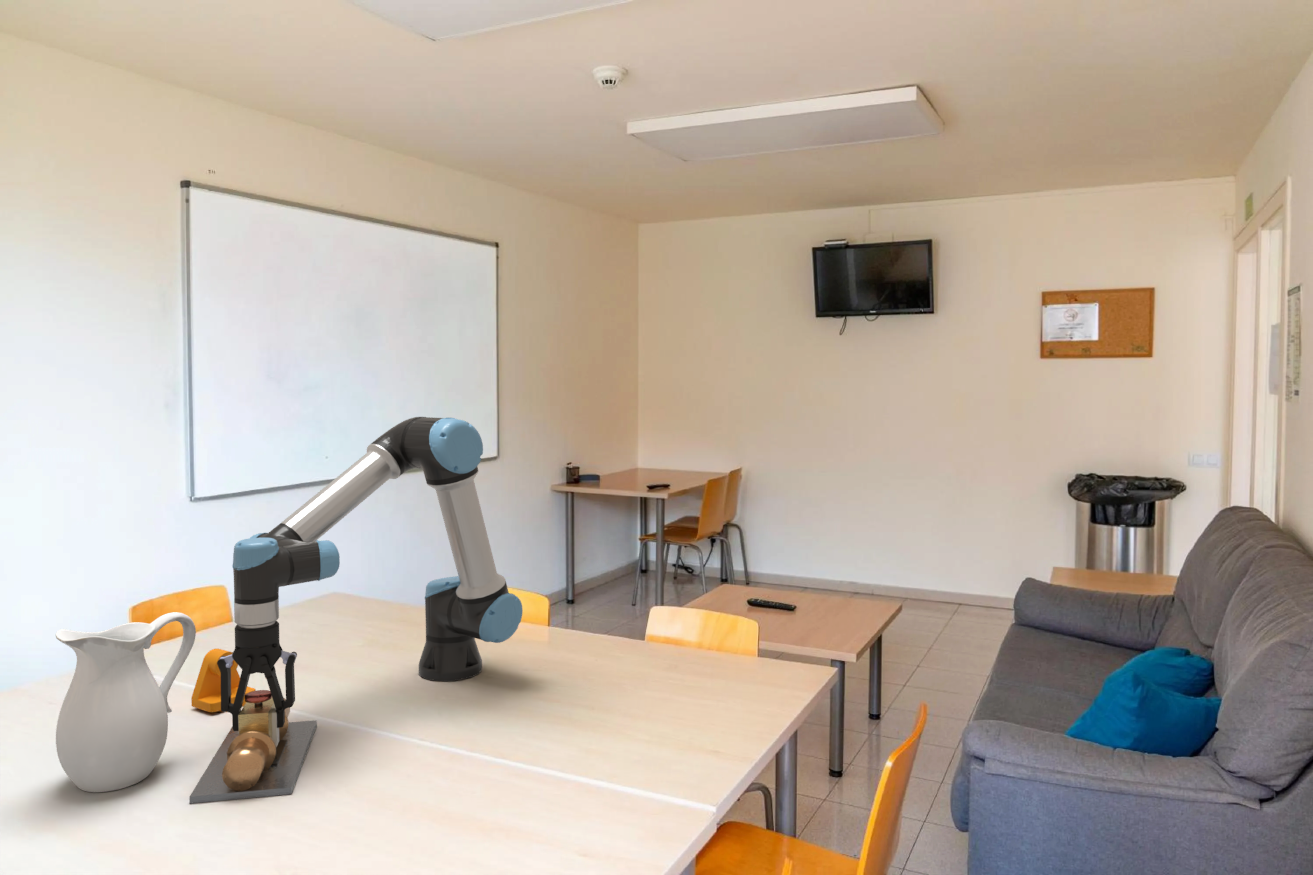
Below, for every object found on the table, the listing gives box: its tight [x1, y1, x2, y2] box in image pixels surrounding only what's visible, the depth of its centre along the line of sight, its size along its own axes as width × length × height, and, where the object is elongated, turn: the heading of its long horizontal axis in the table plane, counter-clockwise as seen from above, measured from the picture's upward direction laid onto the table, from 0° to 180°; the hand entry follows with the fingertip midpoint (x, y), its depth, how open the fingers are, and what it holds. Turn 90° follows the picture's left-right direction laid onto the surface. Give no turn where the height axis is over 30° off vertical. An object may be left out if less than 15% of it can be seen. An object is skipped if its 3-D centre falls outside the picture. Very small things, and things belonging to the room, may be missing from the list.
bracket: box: [191, 648, 257, 714], centre depth 193 cm, size 11×7×12 cm, turn 149°
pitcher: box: [55, 611, 197, 793], centre depth 160 cm, size 24×17×28 cm
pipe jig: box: [188, 697, 318, 804], centre depth 166 cm, size 31×16×8 cm, turn 13°
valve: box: [239, 689, 275, 738], centre depth 165 cm, size 5×9×11 cm, turn 13°
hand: (259, 745), depth 166 cm, fingers closed on valve, 5 cm apart
